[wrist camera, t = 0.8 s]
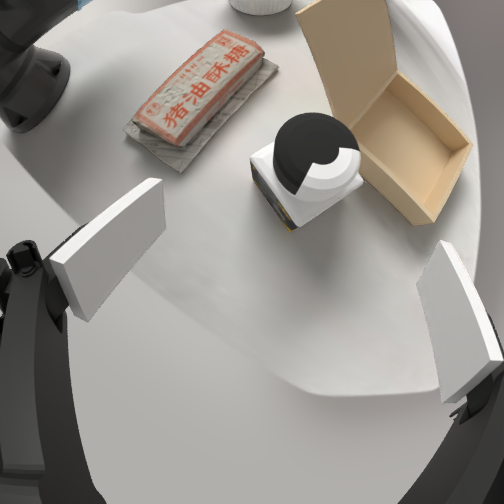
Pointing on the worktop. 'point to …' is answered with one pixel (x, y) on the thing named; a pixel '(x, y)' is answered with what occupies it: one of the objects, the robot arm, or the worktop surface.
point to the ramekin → (260, 6)
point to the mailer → (384, 107)
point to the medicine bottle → (307, 167)
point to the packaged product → (200, 98)
